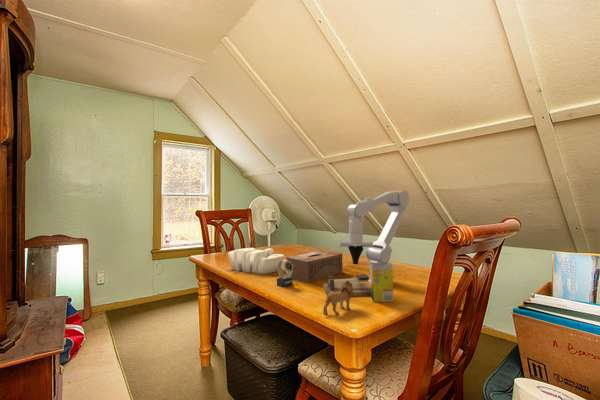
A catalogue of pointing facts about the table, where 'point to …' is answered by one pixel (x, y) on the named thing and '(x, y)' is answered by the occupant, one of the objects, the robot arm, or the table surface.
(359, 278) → the lever
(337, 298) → the lion figurine
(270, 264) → the wavy white extrusion
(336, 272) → the tissue box cover
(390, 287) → the crayon box
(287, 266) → the watch
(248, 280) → the table surface
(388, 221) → the robot arm
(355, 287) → the base
